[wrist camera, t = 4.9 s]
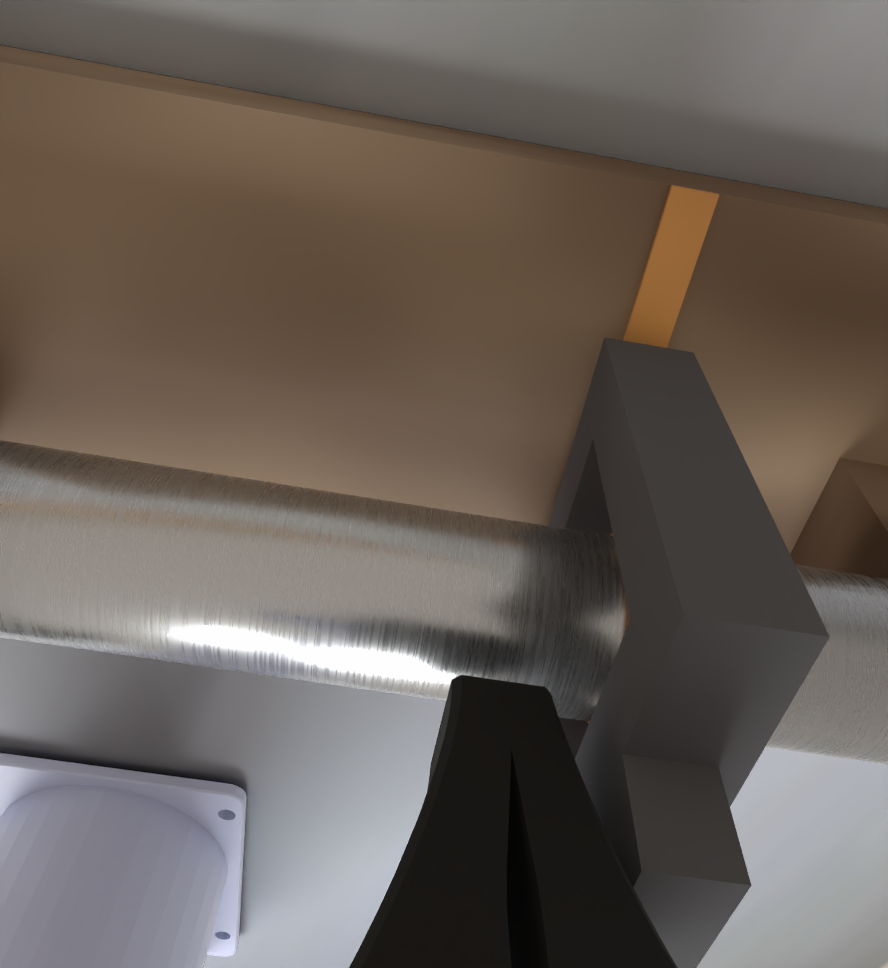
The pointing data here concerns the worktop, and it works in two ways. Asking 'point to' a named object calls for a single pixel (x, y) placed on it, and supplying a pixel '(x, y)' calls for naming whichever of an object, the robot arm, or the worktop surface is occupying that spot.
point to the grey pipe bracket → (681, 634)
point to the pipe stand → (400, 389)
